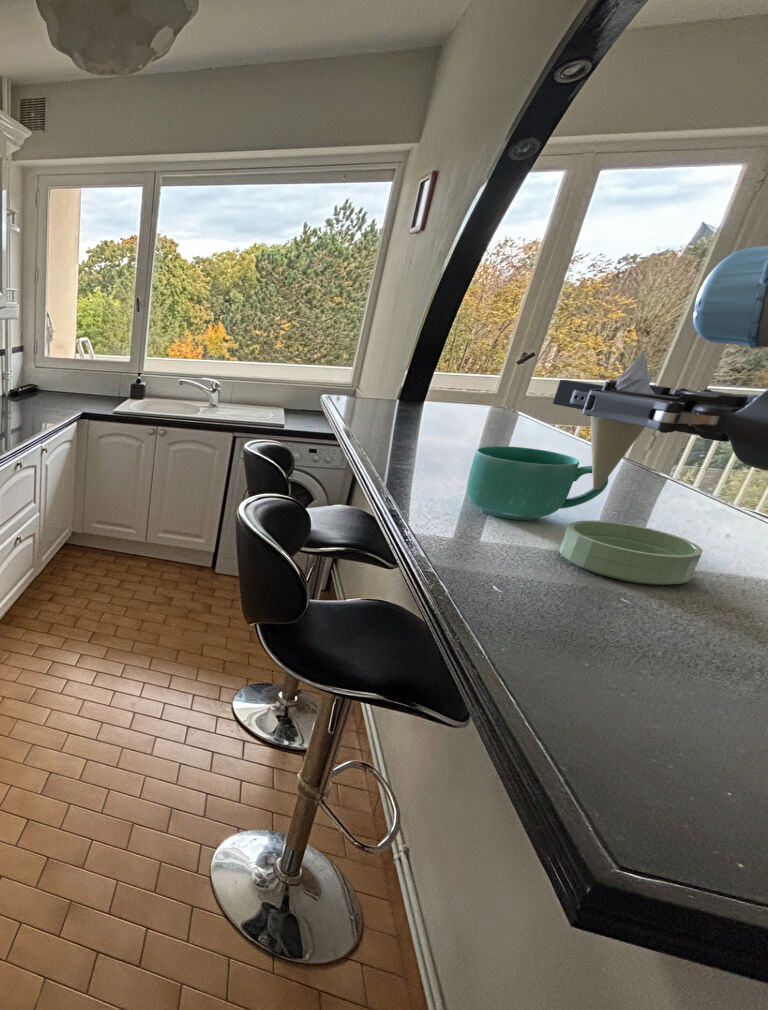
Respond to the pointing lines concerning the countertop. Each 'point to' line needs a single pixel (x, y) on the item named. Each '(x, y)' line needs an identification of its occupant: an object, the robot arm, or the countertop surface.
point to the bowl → (630, 552)
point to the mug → (524, 482)
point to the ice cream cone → (617, 425)
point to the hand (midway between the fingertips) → (584, 392)
